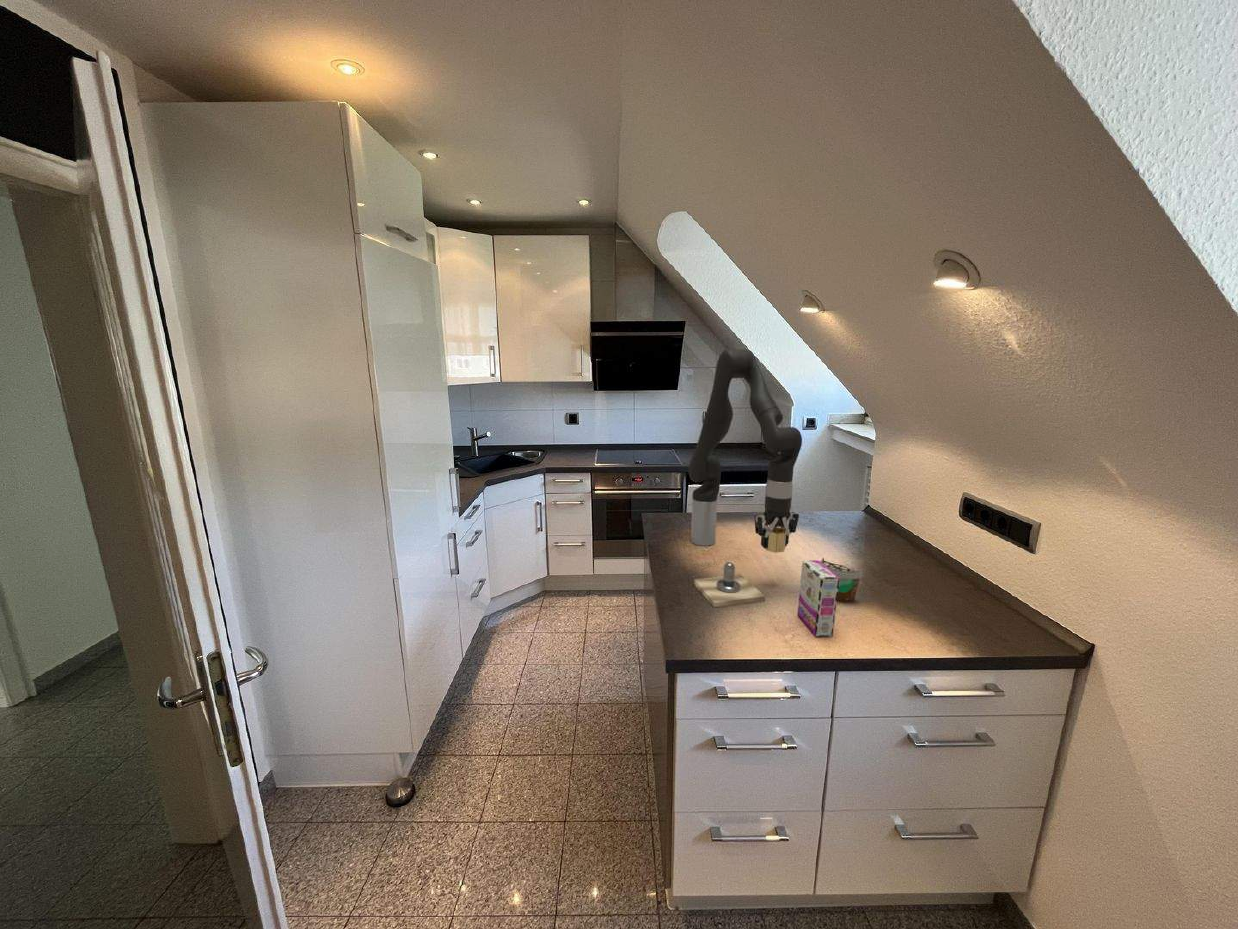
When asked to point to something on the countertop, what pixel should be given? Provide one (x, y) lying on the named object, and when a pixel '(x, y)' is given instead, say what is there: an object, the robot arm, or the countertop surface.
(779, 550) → the collar
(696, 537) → the robot arm
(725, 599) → the board
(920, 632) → the countertop surface
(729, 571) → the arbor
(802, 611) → the candy bar box
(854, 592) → the food container
